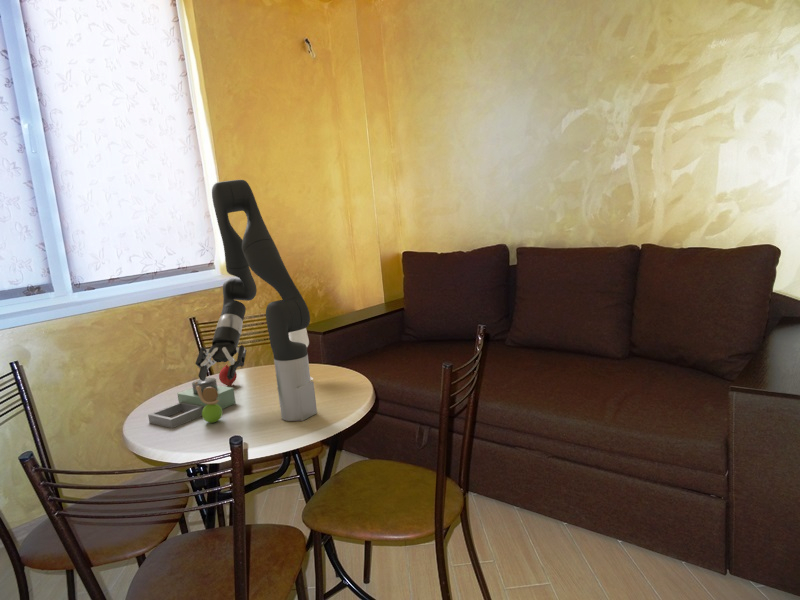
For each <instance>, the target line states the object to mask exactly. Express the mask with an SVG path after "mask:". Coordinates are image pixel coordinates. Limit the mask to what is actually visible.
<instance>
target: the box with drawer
mask: <svg viewBox="0 0 800 600" xmlns="http://www.w3.org/2000/svg"><path fill="white" fill-rule="evenodd" d="M195 382H198V383H197V384H195ZM191 386H192V387H191V388H188V389H186V390H183V391H181V392H178V393H177V401H178V403H175V404H173V405H169V406H166V407H165V408H162V409H159V410H156V411H154V412H151V413H149V414H147V415H148V422H149V423H150V424H153V425H157V426H162V427H166V428H170V429H174V428H177V427H179V426H182V425H183V424H186V423H187V422H190V421H193V420H194V419H195V420H196V419H198V418H200V417H202V411H203V408H204V407H205V406H206V405H208V404H205V403H203V402H202V401H201V400H200V398H199V395H198V393H197V390H196V386H200V387H201V391H202V394H203V391H204V389H205V388H207V387H213V388H215V389H216V390H217V392H218V397H217V399H216V400H219V401H218V402H217V403H216V404H218V405H219V406H220V407H221V408H222V410H223V409H226V408H228V407H230V406H233V405H235V404H236V396H235V391H234V387H231V386H225V385H224V386H222V385H218V384H217V378H214V377H206V379H205V381H202V380H201V379H200V378H199V379H197V380H194V381H193V382H192V383H191ZM181 412H184V413H181ZM178 413H181V414H179V415H177V414H178ZM173 415H175V416H174V417H171V416H173Z"/></svg>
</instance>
